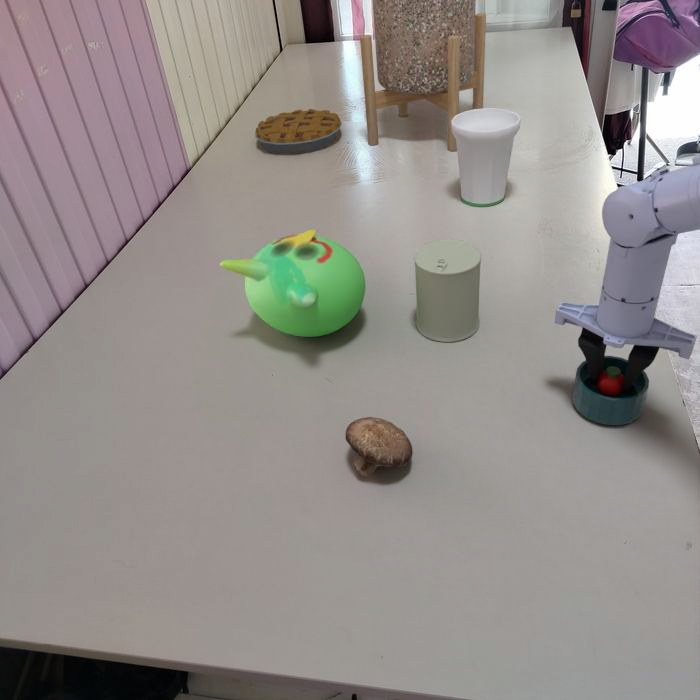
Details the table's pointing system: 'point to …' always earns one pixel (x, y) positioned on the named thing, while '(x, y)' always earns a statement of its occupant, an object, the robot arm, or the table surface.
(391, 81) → the planter
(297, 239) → the toy bird
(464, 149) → the cup
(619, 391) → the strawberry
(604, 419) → the bowl
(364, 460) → the mushroom
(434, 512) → the table surface
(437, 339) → the can
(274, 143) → the pie
